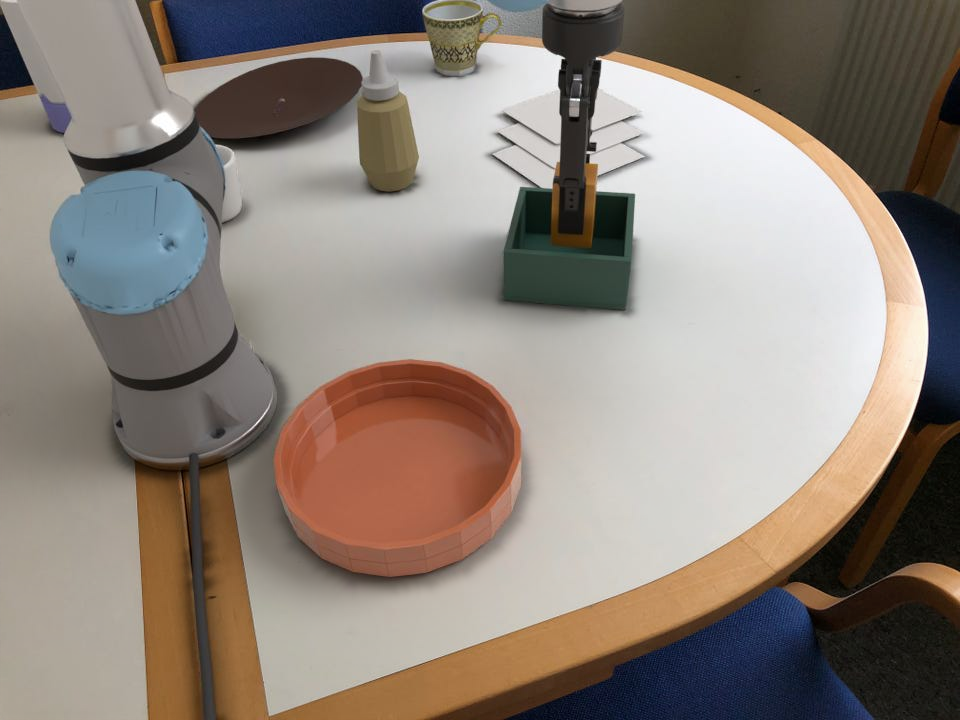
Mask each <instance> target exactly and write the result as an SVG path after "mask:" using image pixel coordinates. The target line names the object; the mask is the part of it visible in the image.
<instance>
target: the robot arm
mask: <svg viewBox="0 0 960 720" xmlns="http://www.w3.org/2000/svg"><path fill="white" fill-rule="evenodd" d="M16 1H17V3H18V5H19V7H20V9H21V11H22V13H23V15H24V18H25V20H26V22H27V24H28V26H29V28H30V30H31V32H32V34H33V37H34V39H35V41H36V43H37V45H38V47H39V49H40V51H41V53H42V55H43V58H44V60H45V62H46V64H47V66H48V68H49V70H50V72H51V74H52V77H53V79H54V81H55V83H56V85H57V87H58V89H59V91H60V93H61V95H62V98H63V100H64V102H65V104H66V106H67V108H68V110H69V112H70V114H71V117H72V119H71V121H70V123H69V125H68V127H67V129H66V131H65V133H63V137H62V139H63V143H64V146H65V148H66V150H67V152H68V154H69V156H70V158H71V160H72V162H73V164H74V167H75V168H76V170H77V172H78V174H79V177H80V179H81V181H82V182H83V186H81V187H80V190H79V191H80V193H78V194H70V195H69V196H67V198H66V199H65V200H64V201H63V202H62V203H61V205H60V206H59V207H58V208H57V210H56V211H55V213H54V215H53V218H52V220H51V223H50V227H49V244H50V249H51V252H52V255H53V257H54V262H55V266H56V267H57V271H58V275H59V276H58V277H59V278H60V280H61V281H62V283H63V285H64V287H66V288H67V291H68V292H69V295H70V296H71V298H72V300H73V302H74V304H75V306H76V308H77V310H78V312H79V314H80V315H81V318H82V319H83V321H84V323H85V326H86V328H87V330H88V331H89V334H90V336H91V337H92V340H93V342H94V343H95V345H96V347H97V350H98V351H99V354H100V356H101V357H102V359H103V361H104V363H105V365H106V366H107V369H108V371H109V374H110V379H111V381H110V382H111V409H112V410H111V411H112V412H111V416H112V424H113V429H114V431H115V434H116V436H117V438H118V440H119V442H120V443H121V446H122V448H123V449H124V450H125V453H127V454H128V455H129V456H130V457H131V458H132V459H134V460H135V461H137V462H138V463H140V464H142V465H145V466H147V467H150V468H153V469H159V470H165V471H186V470H187V471H188V470H189V472H188V473H189V496H190V497H189V498H190V499H189V500H190V525H191V557H192V558H191V559H192V560H191V561H192V584H193V602H194V617H195V627H196V628H195V629H196V639H197V648H198V658H199V659H198V660H199V669H200V680H201V695H202V711H203V713H202V714H203V720H217V713H216V700H215V688H214V677H213V665H212V657H211V646H210V639H209V627H208V618H207V608H206V596H205V594H206V593H205V579H204V576H205V575H204V559H203V558H204V557H203V556H204V555H203V533H202V532H203V531H202V529H203V527H202V509H201V488H200V486H201V485H200V468H203V467H207V466H210V465H214V464H216V463H219V462H222V461H224V460H226V459H228V458H230V457H232V456H235V455H236V454H237V453H239V452H241V451H242V450H244V449H246V448H247V447H248V446H250V444H252V443H253V442H254V441H255V440H257V439H258V437H259V436H261V434H262V433H263V432H264V431H265V430H266V428H267V427H268V425H269V424H270V423H271V420H272V419H273V416H274V414H275V412H276V409H277V404H278V391H277V388H276V384H275V381H274V377H273V375H272V372H271V370H270V368H269V367H268V365H267V364H266V362H265V361H264V360H263V359H262V357H260V355H258V354H257V353H256V352H255V351H253V343H252V340H251V339H249V343H248V342H247V341H246V339H245V338H244V337H243V335H242V334H241V333H240V332H239V329H238V327H237V324H236V321H235V318H234V314H233V311H232V307H231V305H230V301H229V298H228V295H227V292H226V290H225V286H224V283H223V279H222V274H221V265H220V264H221V263H220V262H221V239H222V227H223V226H222V225H223V222H222V208H223V201H224V197H225V189H226V187H225V182H226V179H225V171H224V166H223V163H222V160H221V157H220V154H219V152H218V150H217V147H216V145H217V144H216V143H215V142H214V141H213V139H212V137H210V136H209V135H208V134H207V133H206V132H205V131H204V129H203V128H201V127H200V124H199V121H198V119H197V116H196V113H195V110H194V109H195V107H194V106H193V105H192V102H191V101H189V100H188V99H187V98H186V97H184V96H182V95H179V94H177V93H176V92H174V91H172V90H170V89H169V87H168V84H167V81H166V78H165V75H164V73H163V71H162V68H161V65H160V63H159V60H158V57H157V55H156V52H155V49H154V47H153V44H152V41H151V38H150V35H149V33H148V31H147V28H146V26H145V22H144V19H143V17H142V15H141V12H140V10H139V9H140V8H139V6H138V4H137V1H136V0H16ZM487 1H488V2H489V3H490V4H491V5H493V6H494V7H496V8H498V9H500V10H503V11H507V12H511V13H525V12H530V11H533V10H537V9H539V8H541V7H542V6H543V7H542V15H541V16H542V17H541V19H542V20H541V21H542V23H541V25H542V26H541V43H542V45H543V47H544V48H545V49H546V50H547V51H548V52H549V53H551V54H553V55H555V56H560V57H562V58H560V59H561V60H560V69H558V74H557V75H558V76H557V87H558V90H560V105H559V114H560V116H561V143H560V172H559V176H554V178H553V183H557V184H559V187H560V191H559V219H558V233H562V234H577V235H583V227H584V211H585V195H586V179H587V178H586V177H585V168H586V163H590V154H587V151H590V152H596V146H597V142H590V137H591V135H592V129H591V125H592V117H593V115H594V111H595V100H596V98H597V89H598V88H599V87H600V79H601V74H602V62H603V61H602V59H596V58H598V57H606V56H608V55H611V54H612V53H614V52H615V51H617V50H618V49H619V48H620V46H621V45H622V43H623V32H624V18H625V7H624V5H623V4H622V2H623V1H624V0H487Z"/></svg>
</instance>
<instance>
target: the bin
mask: <svg viewBox="0 0 960 720" xmlns="http://www.w3.org/2000/svg"><path fill="white" fill-rule="evenodd" d="M635 205H636V193H632V192H615V191H613V192H612V191H597V190H596V202H595V216H594V228H593V236H592V244H591V248H582V247H567V246H553V245H551V220H552V189H550V188H541V187H534V186H533V187H532V186H531V187H530V186H520V187H519V190H518V194H517V197H516V201H515V205H514V209H513V213H512V217H511V221H510V224H509V228H508V232H507V236H506V240H505V244H504V248H503V251H502V261H503V262H502V266H503V267H502V270H503V301H509V302H511V301H512V302H521V303H523V302H524V303H537V304H548V305H558V306H571V307H581V308H582V307H583V308H595V309H596V308H597V309H609V310H621V311H626V310H627V303H628V295H629V285H630V277H631V269H632V257H633V242H634V241H633V240H634V223H635V208H636V206H635Z"/></svg>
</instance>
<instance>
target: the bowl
mask: <svg viewBox="0 0 960 720" xmlns="http://www.w3.org/2000/svg"><path fill="white" fill-rule="evenodd" d="M273 467H274V468H273V469H274V479H275V486H276V488H277V491H278V495H279V497H280V498H279V499H280V501H281V504H282V507H283V510H284V512H285V515H286V516H287V519H288V521H289V522H290V525H291V527H292V528H293V531H294V532H295V534H296V536H297V537H298V539H300V541H302V543H304V544H305V545H306V546H307V547H308V548H309V549H311V550H312V551H313V552H314V553H315V554H316V555H317V556H318V557H320V559H323V560H324V561H327V562H329V563H331V564H334V565H336V566H338V567H340V568H342V569H345V570H348V571H350V572H353V573H359V574H365V575H366V574H367V575H373V576H380V577H389V578H393V577H402V576H411V575H418V574H427V573H430V572H433V571H435V570H438V569H440V568H442V567H445V566H448V565H450V564H453V563H455V562H459V561H461V560H463V559H464V558H466V557H467V556H470V555H471V553H473V552H474V551H476V550H477V549H479V548H480V547H481V546H483V545H485V544H486V543H487V542H488V541H490V540H491V539H492V538H493V537H494V536H495V534H496V533H497V532H498V530H499V529H500V528H501V527H502V525H503V524H504V523H505V522H506V520H507V519H508V518H509V516H510V515H511V514H512V512H513V510H514V507H515V504H516V501H517V498H518V496H519V493H520V490H521V488H522V430H521V428H520V424H519V422H518V420H517V418H516V414H515V412H514V410H513V408H512V405H511V404H510V403H509V402H508V401H507V400H506V399H505V397H504V396H503V395H502V394H501V393H500V392H499V391H498V390H497V389H496V387H495V386H494V385H492V384H491V383H489V382H488V381H487V380H484V379H482V378H481V377H479V376H478V375H476V374H474V373H473V372H471V371H470V370H467V369H463V368H460V367H457V366H454V365H451V364H448V363H445V362H441V361H433V360H425V359H424V360H422V359H412V358H411V359H399V360H398V359H397V360H387V361H379V362H375V363H372V364H369V365H366V366H362V367H359V368H356V369H352V370H349V371H346V372H344V373H343V374H341V375H339V376H337V377H336V378H333V379H331V380H330V381H328V382H326V383H324V384H322V385H320V386H319V387H318V388H316V389H315V390H314V391H313V392H312V393H311V394H310V395H308V396H307V397H306V398H305V399H304V400H303V401H301V402H300V403H299V404H298V405H297V406H296V408H295V409H294V410H293V412H292V414H291V415H290V417H289V418H288V419H287V420H286V422H285V424H284V425H283V427H282V429H280V433H279V436H278V440H277V443H276V447H275V451H274V454H273Z"/></svg>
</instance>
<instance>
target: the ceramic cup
mask: <svg viewBox="0 0 960 720" xmlns="http://www.w3.org/2000/svg"><path fill="white" fill-rule="evenodd" d="M421 12H422V18H423V23H424V27H425V31H426V35H427V39H428V42H429V46H430V47H429V48H430V51H431V54H432V59H433V63H434V67H435V71H436V72H438V73H440V74H441V75H443V76H445V77H462V76H466V75H468V74H471V73H473V72H474V71H475V68H476V65H477V56H478V51H480V48H481V46H482V45H483V44H484V43H487V42H486V41H488V39H490V37H492V36H493V35H494V34H496V33H497V32H498V31H499V30H500V29H501V26H502V20H501V17H500V16H499V15H498V14H496V13H494V12H489V13H486V14H485V15H483V14H484V7H483V4H481V3H480V2H479V1H476V0H435V1H434V0H433V1H431V2H429V3H427V4H426V5H424V6H423V7H422V11H421ZM489 19H496V20H497V22H498V26H497V27H496V28H495V29H494V30H493V31H492V32H490V33H489V34H487V36H486V37H484V39H483V40H480V34H481V29H482V27H483V26H484V24H485V22H486V21H487V20H489Z"/></svg>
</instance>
